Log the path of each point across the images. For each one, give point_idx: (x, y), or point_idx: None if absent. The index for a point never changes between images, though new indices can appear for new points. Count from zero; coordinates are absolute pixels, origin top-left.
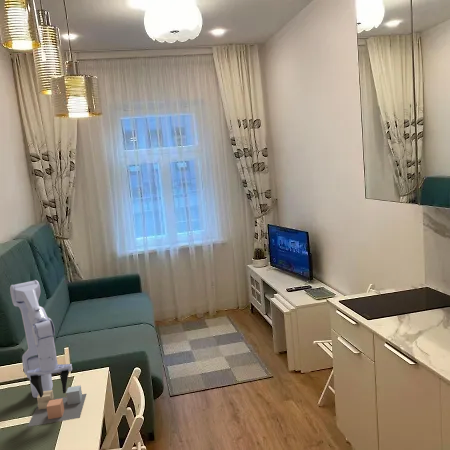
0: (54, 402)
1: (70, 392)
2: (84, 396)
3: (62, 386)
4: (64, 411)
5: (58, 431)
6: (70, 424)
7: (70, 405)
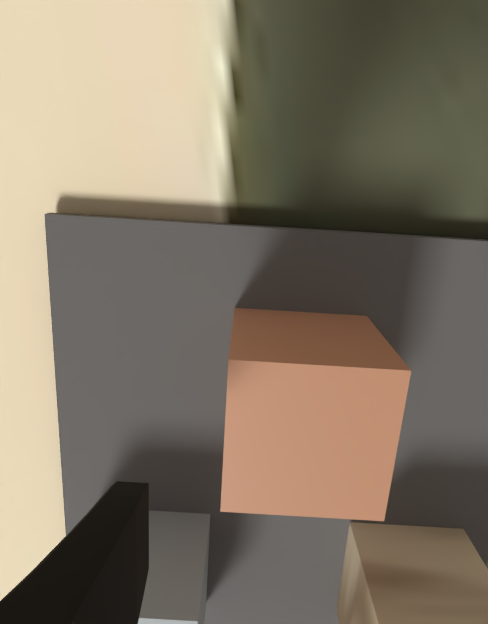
0: (312, 445)
1: (147, 615)
2: None
3: (89, 585)
4: (224, 405)
5: (243, 43)
6: (136, 150)
7: (183, 492)
